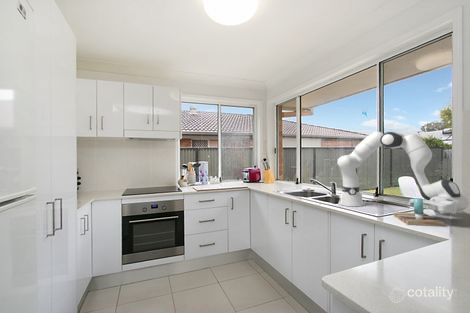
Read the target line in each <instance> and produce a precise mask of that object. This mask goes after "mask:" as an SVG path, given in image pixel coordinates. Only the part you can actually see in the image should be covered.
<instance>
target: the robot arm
mask: <svg viewBox="0 0 470 313" xmlns="http://www.w3.org/2000/svg"><path fill="white" fill-rule="evenodd" d="M381 147H385V148H386V149H395V150H396V149H397V150H398V149H401V148H402V149H403V150H404V151H405V152H406V154H407V155H408V157H409V161H410V164H409V167H410V170H411V172H412V176H414V180H415V182H416V184H417V186H418V188H419V193H420V195H421V197H422V199H423V209H425V210H431V211H433V212H434V213H447V214H457V212H459V211H460V212H461V211H465V210H466V209H468V207H469V206H470V201H469V198H467V196H464V195H463V194H462V193H461V190H460V188H459V186H458V184H457V183H455V182H454V181H452V180H450V179H447V178H445V179H444V178H443V179H441V180H438V181H435V182H433V183H431V184H430V182H429V180H428V178H427V176H426V173H425V168H426V167H427V165H428V164H429V163H430V161H431V160H432V158H433V152H432V150H431V148H430V147H429V146H428V144H427V143H426V142H425V141H424V139H422V138H421V137H420V136H419V135H418V134H416V133H410V134H407V135H404V134H402V133H399V132H395V131H388V132H385V133H383V132H381V131H378V130H375V131H374V132H372V133H370V134H369V135H367V136H366V137H365V138H363V139H362V141H360V142H359V143H358V144H357V145H356V146H355V147H354V149H353V151H352V152H351V153H350V154H345V155H342V156H340V157H339V158H337V162H336V163H337V165H338V167H339V169H340V173H341V176H342V188H341V189H342V190H341V191H342V192H341V193H340V195H338V196H339V197H338V198H339V200H338V203H337V205H339V206H344V207H346V206H347V207H362V206H366V203H364V202H363V200H364V199H363V194H362V192H360V190H361V188H360V186H359V185H360V184H359V183H360V182H359V176H358V173H357V171H356V170H357V168H359V167H360V166H361V165H362V164H363V163H364V161H366V160H367V159H368V158H369V157H370V155H372V154H373V153H374V152H375V151H377V150H378V149H379V148H381ZM408 206H411V207H414V198H410V199H409V202H408Z"/></svg>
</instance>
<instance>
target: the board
mask: <svg viewBox="0 0 470 313" xmlns="http://www.w3.org/2000/svg"><path fill="white" fill-rule="evenodd" d="M423 213H424V212H423ZM392 215H393V216H394V217H395V218H396V219H398V220H399V221H401V222H403V223H404V224H406V225H407V226H424V227H425V226H427V227H445V226H446V225H445V222H444V221H442V220H440V219H438V218H435V217H433V216H431V215H429V214H427V213H424V214H423V220H420V219H415V213H414V212H396V211H395V212H394V211H393V214H392Z"/></svg>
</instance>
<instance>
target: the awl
mask: <svg viewBox="0 0 470 313" xmlns="http://www.w3.org/2000/svg"><path fill="white" fill-rule="evenodd" d="M413 199H414V206H413V213H415V219H420V220H423V214H424V208H423V199H424V198H423V197H422V198H420V197H414V198H413Z"/></svg>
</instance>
